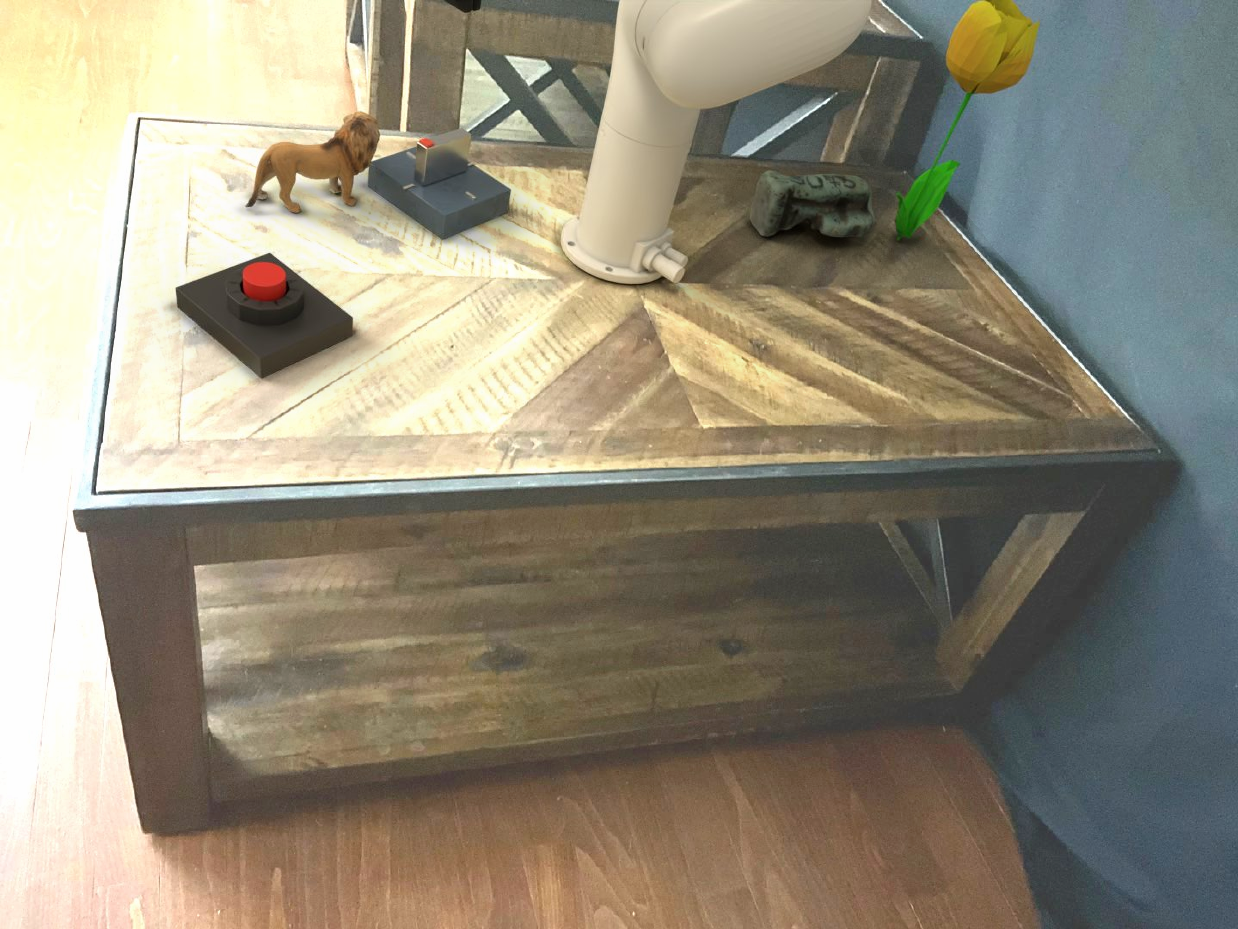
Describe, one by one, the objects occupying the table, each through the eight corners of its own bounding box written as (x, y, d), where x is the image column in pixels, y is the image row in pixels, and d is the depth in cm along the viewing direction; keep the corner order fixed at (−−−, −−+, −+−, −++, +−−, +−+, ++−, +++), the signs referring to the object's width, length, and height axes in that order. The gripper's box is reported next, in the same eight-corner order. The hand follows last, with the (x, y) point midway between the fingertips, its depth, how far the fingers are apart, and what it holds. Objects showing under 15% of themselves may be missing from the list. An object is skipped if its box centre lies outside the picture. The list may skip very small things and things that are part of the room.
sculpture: (817, 162, 132) (730, 197, 125) (850, 131, 125) (759, 166, 118) (863, 244, 131) (778, 283, 124) (899, 217, 124) (810, 257, 118)
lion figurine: (362, 174, 114) (365, 99, 108) (387, 199, 112) (391, 124, 105) (235, 198, 106) (230, 118, 99) (258, 226, 103) (255, 146, 97)
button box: (352, 336, 95) (354, 301, 92) (261, 378, 88) (259, 342, 85) (270, 271, 99) (269, 236, 96) (177, 307, 92) (173, 270, 90)
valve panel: (510, 211, 115) (513, 187, 113) (440, 240, 108) (443, 215, 106) (436, 162, 119) (439, 137, 117) (364, 187, 112) (366, 161, 110)
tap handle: (457, 164, 114) (462, 125, 111) (467, 171, 113) (472, 132, 110) (413, 179, 110) (416, 139, 107) (423, 186, 109) (427, 146, 106)
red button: (294, 293, 92) (294, 277, 90) (260, 307, 89) (260, 291, 88) (269, 273, 93) (268, 257, 92) (234, 286, 90) (233, 270, 89)
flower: (884, 258, 126) (999, 17, 105) (856, 221, 131) (960, -16, 111) (941, 259, 129) (1064, 24, 108) (912, 222, 134) (1023, -8, 114)
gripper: (449, -217, 72) (427, 38, 85) (585, -221, 81) (548, 9, 94) (377, -252, 74) (367, 1, 87) (518, -252, 84) (490, -24, 97)
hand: (461, 4), depth 91 cm, fingers closed
